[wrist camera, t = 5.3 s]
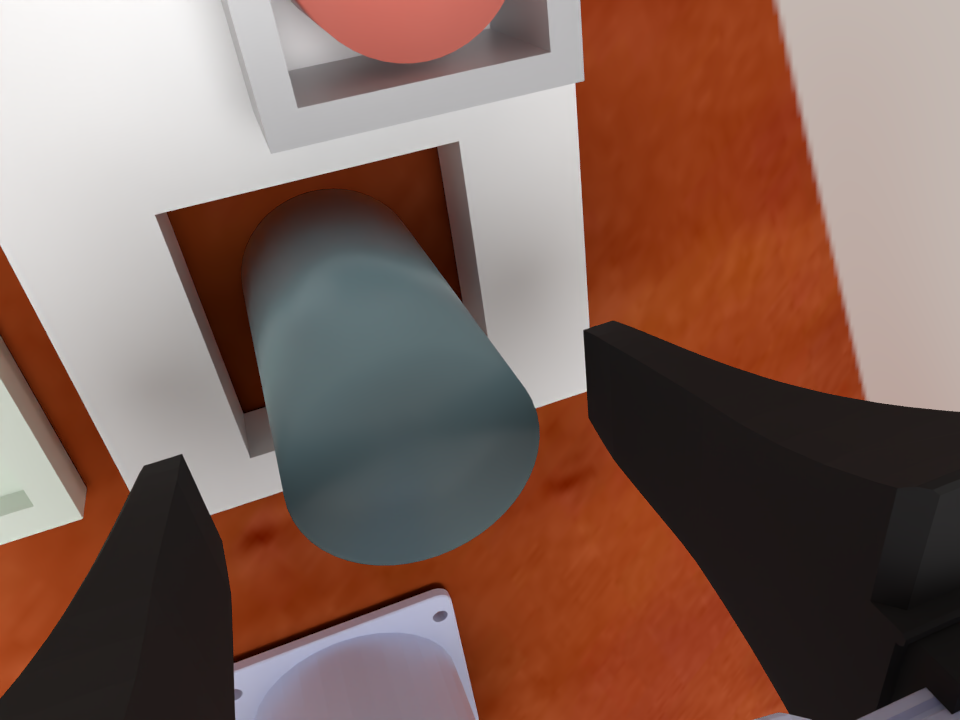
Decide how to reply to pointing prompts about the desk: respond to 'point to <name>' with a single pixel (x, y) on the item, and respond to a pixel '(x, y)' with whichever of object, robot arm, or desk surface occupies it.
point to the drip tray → (32, 463)
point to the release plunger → (402, 25)
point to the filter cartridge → (379, 385)
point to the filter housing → (260, 164)
